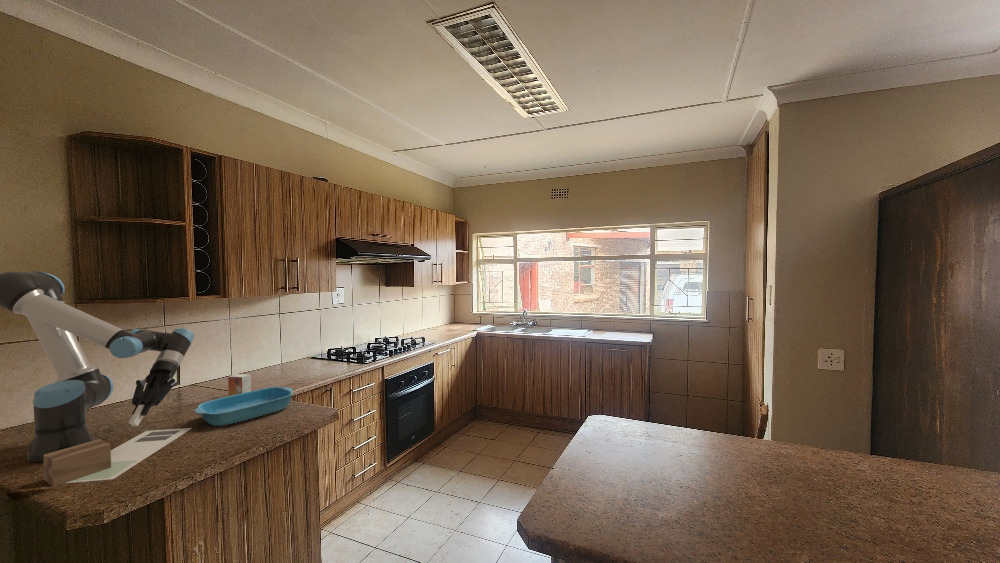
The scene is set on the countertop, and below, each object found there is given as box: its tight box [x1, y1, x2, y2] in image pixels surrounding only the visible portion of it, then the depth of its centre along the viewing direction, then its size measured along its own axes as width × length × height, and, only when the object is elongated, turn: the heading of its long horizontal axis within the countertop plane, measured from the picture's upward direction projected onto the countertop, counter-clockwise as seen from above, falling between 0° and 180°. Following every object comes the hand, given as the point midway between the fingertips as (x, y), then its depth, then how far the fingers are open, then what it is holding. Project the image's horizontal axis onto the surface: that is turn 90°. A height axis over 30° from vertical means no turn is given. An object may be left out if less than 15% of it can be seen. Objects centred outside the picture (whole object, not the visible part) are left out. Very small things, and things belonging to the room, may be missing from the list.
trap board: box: [48, 427, 193, 487], centre depth 130 cm, size 16×38×1 cm, turn 10°
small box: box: [227, 373, 252, 396], centre depth 191 cm, size 8×6×10 cm
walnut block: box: [43, 438, 112, 487], centre depth 116 cm, size 8×12×8 cm, turn 153°
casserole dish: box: [193, 386, 294, 427], centre depth 167 cm, size 37×22×7 cm, turn 143°
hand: (133, 424), depth 131 cm, fingers closed
